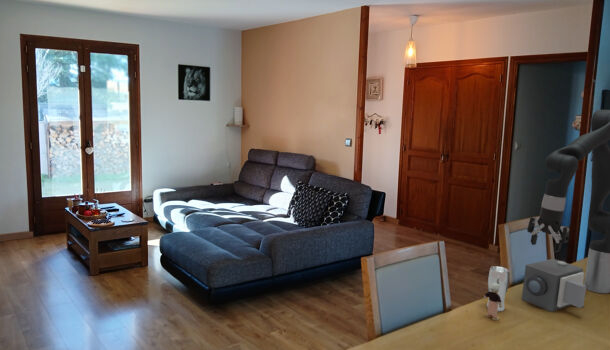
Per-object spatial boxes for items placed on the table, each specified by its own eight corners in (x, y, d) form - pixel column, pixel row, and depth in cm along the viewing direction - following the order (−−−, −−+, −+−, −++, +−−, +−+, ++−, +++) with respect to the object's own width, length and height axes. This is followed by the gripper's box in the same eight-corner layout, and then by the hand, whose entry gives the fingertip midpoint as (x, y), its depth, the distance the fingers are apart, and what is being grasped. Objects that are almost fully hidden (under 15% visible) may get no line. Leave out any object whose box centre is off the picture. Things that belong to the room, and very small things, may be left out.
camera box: (548, 291, 186) (553, 256, 184) (579, 302, 176) (584, 266, 173) (517, 300, 175) (521, 263, 173) (547, 313, 165) (552, 274, 163)
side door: (577, 299, 174) (581, 272, 172) (597, 306, 168) (601, 278, 166) (556, 306, 167) (560, 277, 165) (576, 314, 161) (580, 284, 159)
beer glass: (505, 306, 170) (510, 268, 167) (505, 313, 164) (510, 274, 161) (486, 302, 173) (490, 264, 170) (484, 309, 166) (489, 270, 164)
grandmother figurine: (504, 319, 159) (508, 285, 157) (498, 322, 156) (502, 287, 154) (484, 311, 165) (488, 278, 163) (478, 313, 162) (482, 280, 160)
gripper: (577, 211, 165) (568, 253, 168) (539, 201, 176) (531, 240, 179) (567, 213, 161) (558, 256, 164) (529, 202, 172) (521, 243, 175)
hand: (544, 248), depth 172 cm, fingers open, 8 cm apart
